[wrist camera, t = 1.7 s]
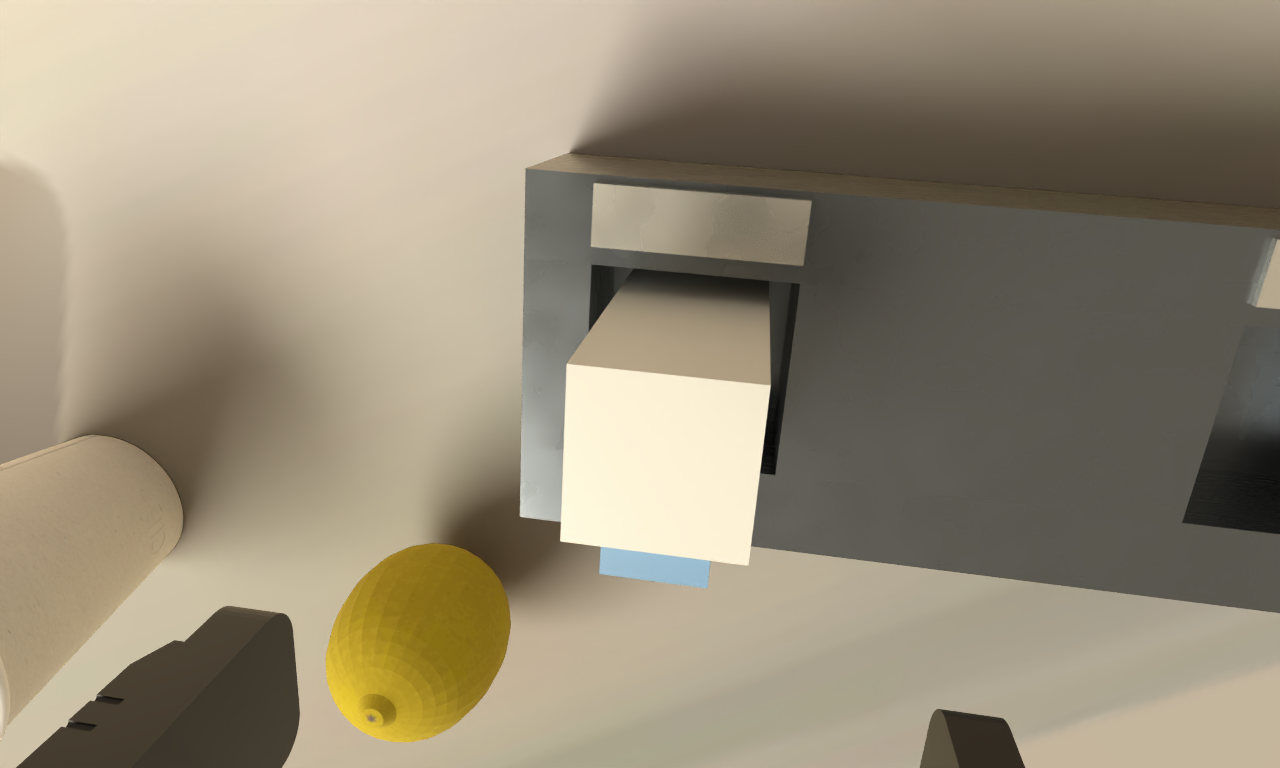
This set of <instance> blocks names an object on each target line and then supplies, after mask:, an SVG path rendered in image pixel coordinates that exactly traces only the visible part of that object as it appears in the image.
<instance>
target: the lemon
mask: <svg viewBox="0 0 1280 768" xmlns="http://www.w3.org/2000/svg"><path fill="white" fill-rule="evenodd" d="M510 626H511V620H510V611H509V603H508V599H507V596H506V593H505V591H504V588H503V586H502V583H501V581H500V580H499V578H498V577H497V576H496V574H495V573H494V571H493V570H492V569H491V568H490V567H489V566H488V565H487V564H486V563H485V562H484V561H483V560H482V559H480V558H479V557H477V556H476V555H474V554H472V553H471V552H469V551H467V550H465V549H462V548H459V547H456V546H452V545H447V544H437V543H431V544H424V545H416V546H412V547H409V548H406V549H404V550H402V551H399V552H397V553H395V554H393V555H391V556H389V557H387V558H386V559H384V560H383V561H382V562H380V563H379V564H378V565H377V566H376V567H374V568H373V569H372V570H371V571H369V572H368V573H367V574H366V575H365V576H364V577H363V578H362V579H361V580H360V581H359V582H358V584H357V585H356V586H355V588H354V589H353V591H352V592H351V594H350V595H349V597H348V598H347V600H346V601H345V603H344V604H343V606H342V608H341V610H340V611H339V614H338V616H337V618H336V620H335V623H334V626H333V629H332V632H331V636H330V640H329V644H328V648H327V653H326V674H327V682H328V685H329V689H330V692H331V695H332V697H333V699H334V702H335V703H336V705H337V706H338V708H339V710H340V711H341V713H342V714H343V715H344V716H345V717H346V718H347V719H348V720H349V721H350V722H351V723H352V724H353V725H354V726H355V727H357V728H358V729H360V730H361V731H363V732H364V733H366V734H369V735H371V736H373V737H375V738H378V739H382V740H387V741H391V742H414V741H419V740H423V739H428V738H431V737H433V736H436V735H437V734H439V733H441V732H443V731H445V730H447V729H449V728H451V727H452V726H454V725H455V724H456V723H457V722H459V721H460V720H461V719H462V718H463V717H464V716H465V715H466V714H467V713H468V712H469V711H470V710H471V709H472V708H474V706H475V705H476V704H477V703H478V702H479V701H480V700H481V699H482V697H483V696H484V695H485V693H486V692H487V690H488V689H489V687H490V686H491V684H492V682H493V680H494V678H495V676H496V675H497V673H498V671H499V669H500V667H501V665H502V663H503V660H504V657H505V654H506V650H507V645H508V639H509V634H510Z"/></svg>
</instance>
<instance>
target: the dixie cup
mask: <svg viewBox="0 0 1280 768" xmlns="http://www.w3.org/2000/svg"><path fill="white" fill-rule="evenodd" d="M182 528H183V510H182V505H181V501H180V498H179V495H178V493H177V490H176V488H175V486H174V484H173V483H172V481H171V479H170V478H169V476H168V475H167V474H166V472H165V471H164V470H163V469H162V467H161V466H160V465H159V464H158V463H157V462H156V461H155V460H154V459H153V458H151V457H150V456H149V455H148V454H146V453H145V452H144V451H142V450H141V449H139V448H137V447H136V446H134V445H132V444H130V443H128V442H125V441H123V440H120V439H117V438H113V437H108V436H100V435H86V436H82V437H78V438H75V439H72V440H70V441H67V442H64V443H61V444H58V445H55V446H52V447H50V448H47V449H44V450H41V451H38V452H35V453H32V454H30V455H27V456H24V457H21V458H18V459H15V460H13V461H10V462H7V463H4V464H1V465H0V741H1V739H2V737H3V735H4V733H5V730H6V727H7V726H8V725H9V723H10V722H11V721H12V720H13V719H14V718H15V717H16V716H17V715H18V714H19V713H20V712H21V711H22V710H23V709H24V707H25V706H26V705H27V704H28V703H29V702H30V701H31V700H32V699H33V698H34V697H35V696H36V695H37V694H38V693H39V691H40V690H41V689H42V688H43V687H44V686H45V685H46V684H47V683H48V682H49V681H50V680H51V679H52V678H53V677H54V675H55V674H56V673H57V672H58V671H59V670H60V669H61V668H62V667H63V666H64V665H65V664H66V663H67V662H68V661H69V659H70V658H71V657H72V656H73V655H74V654H75V653H76V652H77V651H78V650H79V649H80V648H81V647H82V646H83V645H84V643H85V642H86V641H87V640H88V639H89V638H90V637H91V636H92V635H93V634H94V633H95V632H96V631H97V630H98V629H99V627H100V626H101V625H102V624H103V623H104V622H105V621H106V620H107V619H108V618H109V617H110V616H111V615H112V614H113V613H114V612H115V610H116V609H117V608H118V607H119V606H120V605H121V604H122V603H123V602H124V601H125V600H126V599H127V598H128V597H129V596H130V594H131V593H132V592H133V591H134V590H135V589H136V588H137V587H138V586H139V585H140V584H141V583H142V582H143V581H144V580H145V578H146V577H147V576H148V575H149V574H150V573H151V572H152V571H153V570H154V569H155V568H156V567H157V566H158V565H159V564H160V562H161V561H162V560H163V559H164V558H165V557H166V556H167V555H168V554H169V553H170V552H171V551H172V550H173V548H174V547H175V546H176V544H177V542H178V541H179V538H180V536H181V532H182Z"/></svg>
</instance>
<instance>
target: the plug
mask: <svg viewBox="0 0 1280 768" xmlns="http://www.w3.org/2000/svg"><path fill="white" fill-rule="evenodd" d="M770 387H771V371H770V309H769V281H765V280H755V279H744V278H733V277H722V276H711V275H701V274H690V273H679V272H668V271H657V270H647V269H636V268H634V269H633V270H632V272H631V273H630V275H629V276H628V277H627V279H626V280H625V282H624V283H623V284H622V286H621V287H620V289H619V290H618V292H617V293H616V294H615V296H614V297H613V299H612V300H611V302H610V303H609V304H608V306H607V307H606V309H605V310H604V311H603V313H602V314H601V316H600V317H599V319H598V320H597V321H596V323H595V324H594V326H593V327H592V329H591V330H590V331H589V333H588V334H587V336H586V337H585V338H584V340H583V341H582V343H581V344H580V346H579V347H578V348H577V350H576V351H575V353H574V354H573V356H572V357H571V358H570V360H569V361H568V363H567V367H566V395H565V423H564V451H563V479H562V507H561V535H560V541H561V542H569V543H577V544H585V545H592V546H600V547H601V552H600V570H599V574H603V575H611V576H618V577H626V578H633V579H641V580H648V581H656V582H664V583H671V584H679V585H686V586H694V587H701V588H707V586H708V578H709V569H710V561H716V562H724V563H732V564H740V565H747V566H748V565H749V557H750V549H751V541H752V533H753V525H754V517H755V509H756V500H757V492H758V484H759V476H760V468H761V460H762V452H763V444H764V436H765V428H766V420H767V412H768V404H769V395H770Z"/></svg>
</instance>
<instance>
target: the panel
mask: <svg viewBox="0 0 1280 768" xmlns="http://www.w3.org/2000/svg"><path fill="white" fill-rule="evenodd" d="M634 268H636V269H647V270H657V271H668V272H679V273H690V274H701V275H711V276H722V277H733V278H744V279H755V280H765V281H769V309H770V371H771V387H770V395H769V404H768V412H767V420H766V428H765V436H764V444H763V452H762V460H761V468H760V476H759V484H758V492H757V500H756V509H755V517H754V525H753V533H752V541H751V546H754V547H762V548H770V549H778V550H786V551H794V552H802V553H809V554H817V555H825V556H833V557H841V558H849V559H857V560H865V561H873V562H881V563H888V564H896V565H904V566H912V567H920V568H928V569H936V570H944V571H952V572H960V573H967V574H975V575H983V576H991V577H999V578H1007V579H1015V580H1023V581H1031V582H1039V583H1047V584H1054V585H1062V586H1070V587H1078V588H1086V589H1094V590H1102V591H1110V592H1118V593H1126V594H1133V595H1141V596H1149V597H1157V598H1165V599H1173V600H1181V601H1189V602H1197V603H1205V604H1212V605H1220V606H1228V607H1236V608H1244V609H1252V610H1260V611H1268V612H1276V613H1280V209H1274V208H1261V207H1249V206H1236V205H1223V204H1210V203H1198V202H1185V201H1172V200H1160V199H1147V198H1134V197H1121V196H1109V195H1096V194H1083V193H1071V192H1058V191H1045V190H1032V189H1020V188H1007V187H994V186H981V185H969V184H956V183H943V182H931V181H918V180H905V179H892V178H880V177H867V176H854V175H841V174H829V173H816V172H803V171H791V170H778V169H765V168H752V167H740V166H727V165H714V164H702V163H689V162H676V161H663V160H651V159H638V158H625V157H612V156H600V155H587V154H574V153H567V154H564V155H562V156H559V157H556V158H553V159H551V160H548V161H545V162H542V163H540V164H537V165H534V166H532V167H529V168H526V183H525V242H524V301H523V361H522V420H521V479H520V517H525V518H533V519H541V520H549V521H557V522H561V507H562V479H563V451H564V423H565V395H566V367H567V363H568V361H569V360H570V358H571V357H572V356H573V354H574V353H575V351H576V350H577V348H578V347H579V346H580V344H581V343H582V341H583V340H584V338H585V337H586V336H587V334H588V333H589V331H590V330H591V329H592V327H593V326H594V324H595V323H596V321H597V320H598V319H599V317H600V316H601V314H602V313H603V311H604V310H605V309H606V307H607V306H608V304H609V303H610V302H611V300H612V299H613V297H614V296H615V294H616V293H617V292H618V290H619V289H620V287H621V286H622V284H623V283H624V282H625V280H626V279H627V277H628V276H629V275H630V273H631V272H632V270H633V269H634Z"/></svg>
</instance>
